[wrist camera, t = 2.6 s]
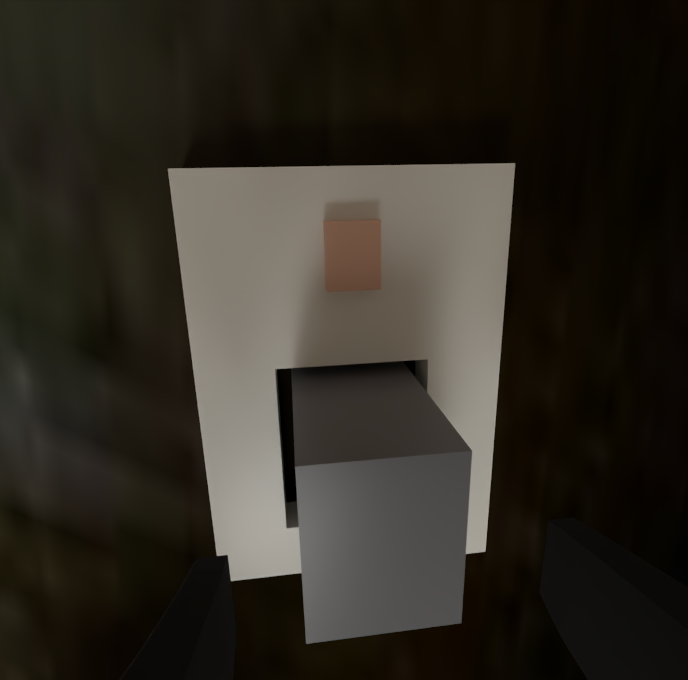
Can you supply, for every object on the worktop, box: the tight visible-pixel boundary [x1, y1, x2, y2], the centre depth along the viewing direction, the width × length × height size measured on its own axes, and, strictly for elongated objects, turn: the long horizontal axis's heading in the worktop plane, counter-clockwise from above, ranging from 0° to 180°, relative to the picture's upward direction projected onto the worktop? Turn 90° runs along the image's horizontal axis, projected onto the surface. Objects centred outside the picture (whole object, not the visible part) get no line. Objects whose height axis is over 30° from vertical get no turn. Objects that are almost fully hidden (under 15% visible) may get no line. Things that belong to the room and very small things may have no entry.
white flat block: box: [168, 163, 515, 581], centre depth 15 cm, size 14×10×2 cm
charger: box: [291, 361, 472, 644], centre depth 14 cm, size 5×4×6 cm
